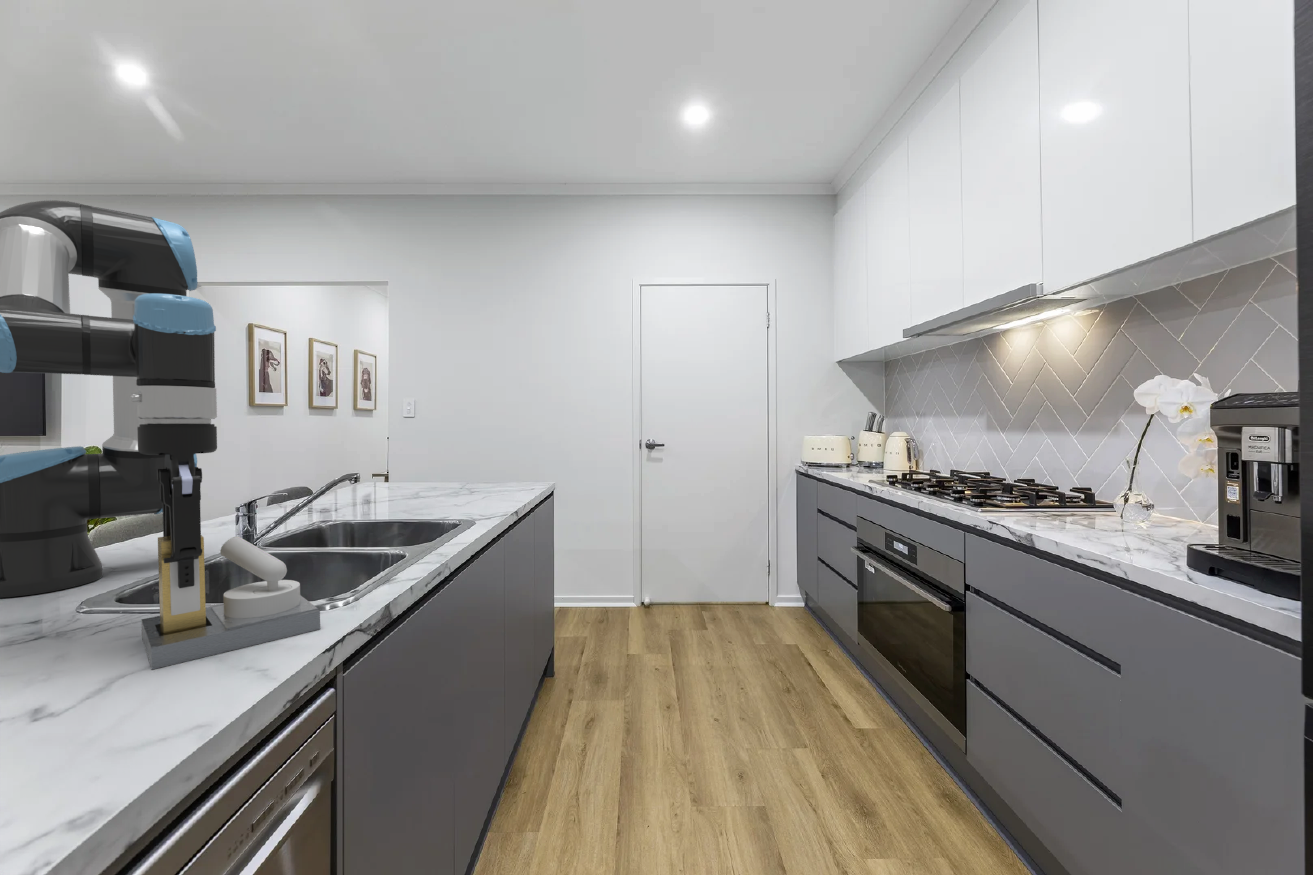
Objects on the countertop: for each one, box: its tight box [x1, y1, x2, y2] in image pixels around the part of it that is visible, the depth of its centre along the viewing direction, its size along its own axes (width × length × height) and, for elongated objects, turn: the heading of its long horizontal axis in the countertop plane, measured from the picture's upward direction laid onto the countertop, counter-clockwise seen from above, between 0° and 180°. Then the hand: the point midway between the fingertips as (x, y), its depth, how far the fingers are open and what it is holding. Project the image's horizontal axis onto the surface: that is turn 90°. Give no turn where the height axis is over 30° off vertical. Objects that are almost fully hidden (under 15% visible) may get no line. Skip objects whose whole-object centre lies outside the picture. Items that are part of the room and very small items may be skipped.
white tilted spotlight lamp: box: [219, 536, 301, 618], centre depth 77 cm, size 9×10×10 cm
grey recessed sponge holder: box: [140, 594, 321, 670], centre depth 74 cm, size 13×17×3 cm
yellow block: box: [157, 534, 207, 636], centre depth 70 cm, size 4×4×12 cm
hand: (183, 607), depth 70 cm, fingers closed on yellow block, 4 cm apart
